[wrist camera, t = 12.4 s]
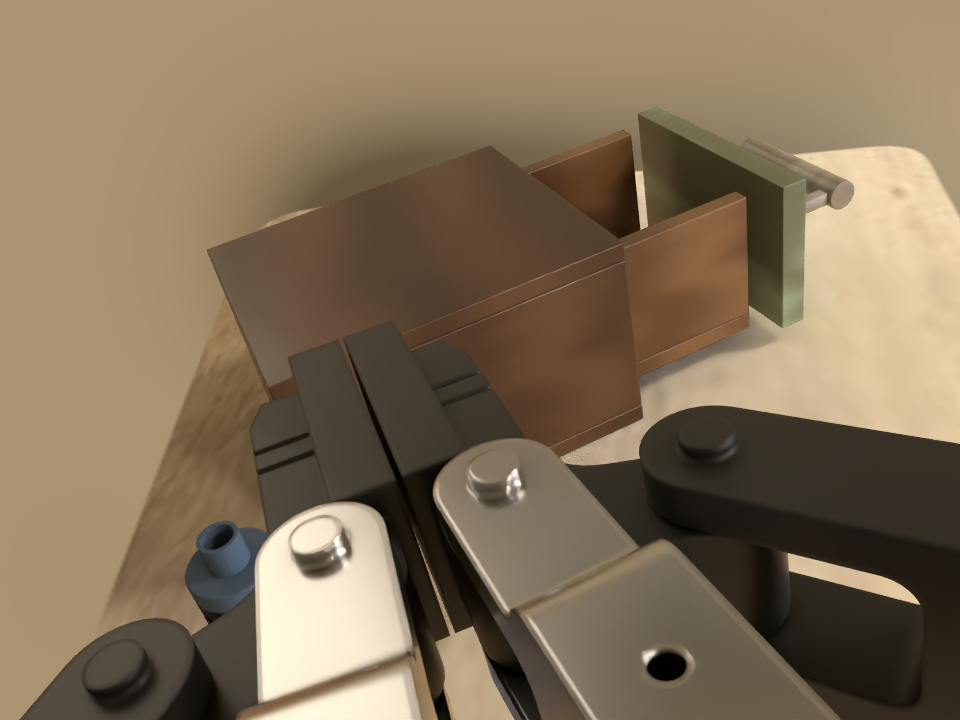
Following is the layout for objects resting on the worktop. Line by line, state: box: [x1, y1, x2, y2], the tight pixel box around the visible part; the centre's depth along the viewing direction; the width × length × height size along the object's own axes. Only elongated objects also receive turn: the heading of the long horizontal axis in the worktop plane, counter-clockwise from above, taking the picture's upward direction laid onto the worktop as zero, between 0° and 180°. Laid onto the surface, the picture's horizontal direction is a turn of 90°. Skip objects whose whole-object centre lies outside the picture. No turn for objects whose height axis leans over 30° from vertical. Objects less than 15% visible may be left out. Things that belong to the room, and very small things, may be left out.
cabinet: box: [207, 146, 643, 457], centre depth 42 cm, size 15×13×9 cm
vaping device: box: [185, 521, 268, 624], centre depth 26 cm, size 3×5×12 cm, turn 65°
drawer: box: [522, 107, 854, 377], centre depth 44 cm, size 18×11×7 cm, turn 114°
